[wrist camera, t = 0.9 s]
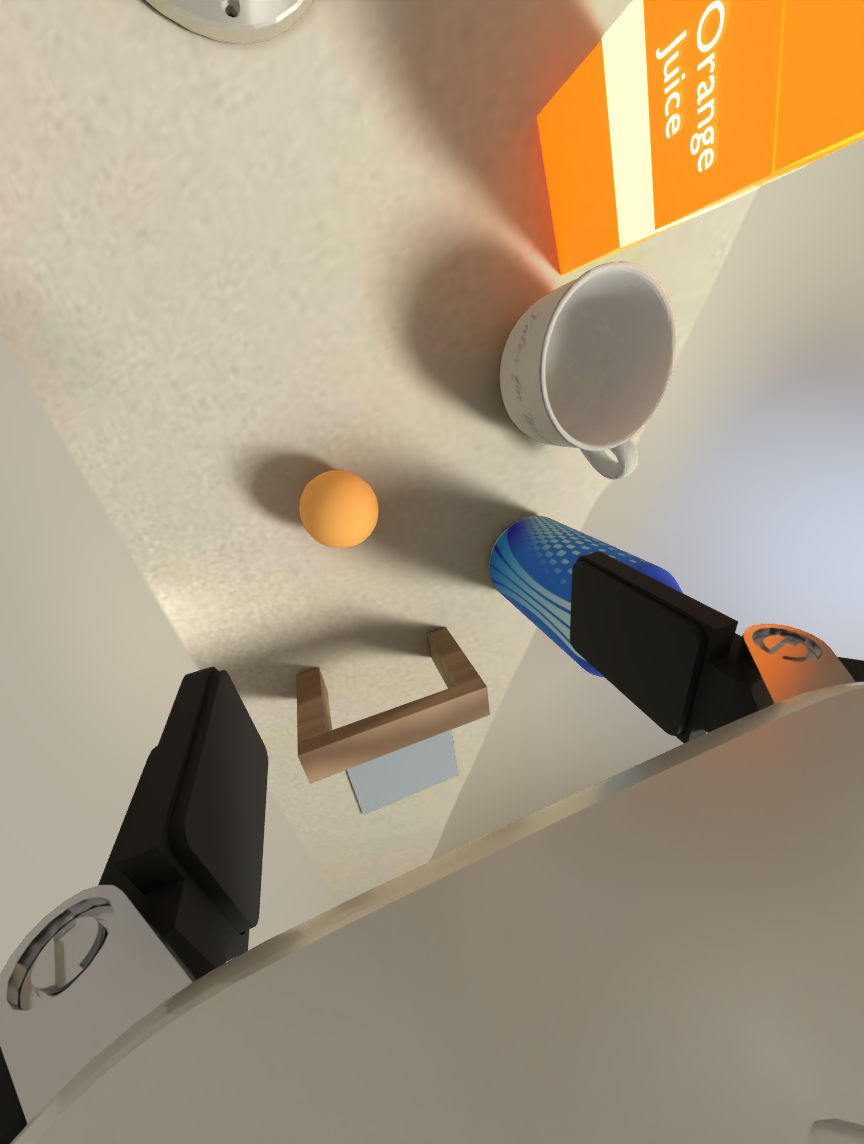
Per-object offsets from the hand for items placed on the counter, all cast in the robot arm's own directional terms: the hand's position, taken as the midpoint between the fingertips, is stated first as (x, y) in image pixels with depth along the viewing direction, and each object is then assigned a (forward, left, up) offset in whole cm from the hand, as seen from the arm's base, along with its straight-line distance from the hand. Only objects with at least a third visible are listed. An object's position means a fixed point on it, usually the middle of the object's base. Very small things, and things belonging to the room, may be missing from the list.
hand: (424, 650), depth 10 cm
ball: (+1, 0, -20) cm, 20 cm away
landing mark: (+31, 0, -22) cm, 38 cm away
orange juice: (-17, +23, -23) cm, 36 cm away
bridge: (+17, 0, -22) cm, 28 cm away
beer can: (+10, +16, -23) cm, 29 cm away
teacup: (-4, +19, -23) cm, 29 cm away
